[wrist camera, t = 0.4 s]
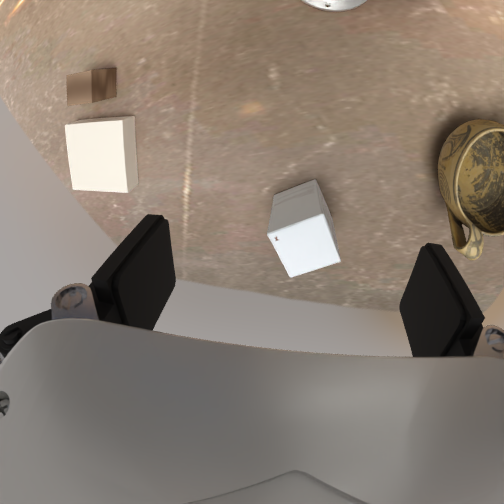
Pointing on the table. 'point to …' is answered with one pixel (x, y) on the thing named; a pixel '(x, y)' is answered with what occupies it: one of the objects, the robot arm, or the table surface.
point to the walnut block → (91, 86)
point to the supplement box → (303, 229)
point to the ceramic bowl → (473, 183)
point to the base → (103, 154)
